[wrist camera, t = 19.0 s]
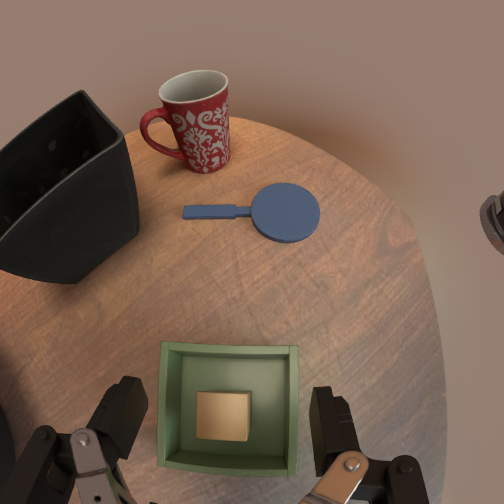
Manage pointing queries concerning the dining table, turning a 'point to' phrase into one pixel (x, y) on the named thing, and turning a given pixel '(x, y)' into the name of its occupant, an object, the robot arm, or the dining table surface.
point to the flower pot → (65, 194)
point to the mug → (195, 119)
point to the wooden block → (223, 414)
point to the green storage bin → (229, 378)
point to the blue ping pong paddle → (270, 212)
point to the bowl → (5, 452)
